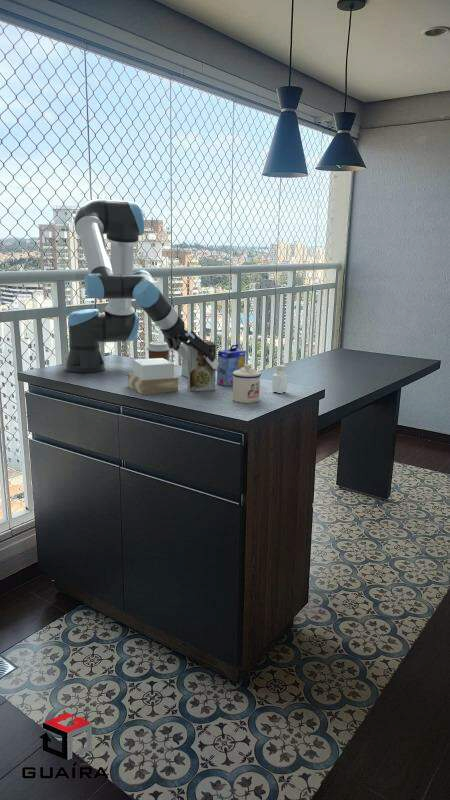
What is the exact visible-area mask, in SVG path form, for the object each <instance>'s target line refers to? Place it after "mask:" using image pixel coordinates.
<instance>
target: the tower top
mask: <svg viewBox="0 0 450 800" xmlns="http://www.w3.org/2000/svg"><path fill="white" fill-rule="evenodd" d="M132 373H133V374H134V375H135V376H137V377H138V378H140V379H142V380H154V379H168V378H174V376H175V363H173V362H172V361H170V360H169V359H168V360H166V359H164V358H153V359H149V358H139V359H137V358H136V359H132Z"/></svg>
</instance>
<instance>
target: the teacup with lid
mask: <svg viewBox="0 0 450 800" xmlns="http://www.w3.org/2000/svg"><path fill="white" fill-rule="evenodd" d="M261 375H262V374H261V372H260V371H259V370H256V369H254V368H253V367H251V365H250V364H246V363H245V365H244V367H243V368H240V369H239V370H236V371H234V372H233V385H232V400H233V401H234V402H236V403H241V404H253V403H256V402H259V400H260V388H261V387H260V386H261V385H260V383H261V381H260V380H261Z"/></svg>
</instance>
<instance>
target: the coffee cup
mask: <svg viewBox="0 0 450 800" xmlns="http://www.w3.org/2000/svg"><path fill="white" fill-rule="evenodd" d="M146 350H147V351H148V359H153V358H164V359H166V360H168V361H169V351H171V349H170V348H169V347H168V344H167V341H166V342H165V341H150V342H149V345H148V346H146Z"/></svg>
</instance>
